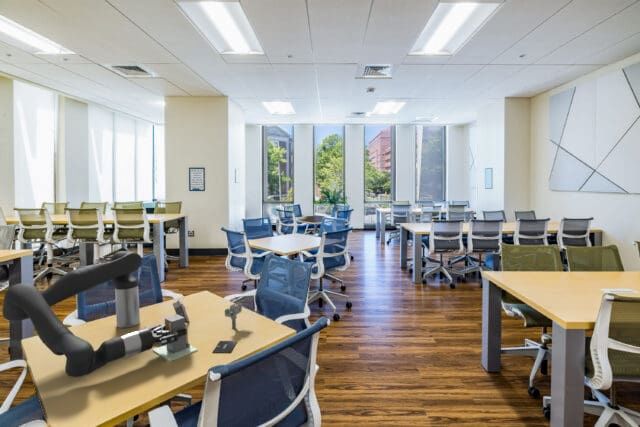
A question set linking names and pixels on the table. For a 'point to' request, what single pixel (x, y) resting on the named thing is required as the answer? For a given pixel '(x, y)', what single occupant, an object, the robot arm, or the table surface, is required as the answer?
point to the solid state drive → (224, 347)
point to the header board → (172, 356)
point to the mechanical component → (233, 313)
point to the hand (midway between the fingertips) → (180, 328)
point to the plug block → (174, 325)
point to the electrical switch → (180, 309)
